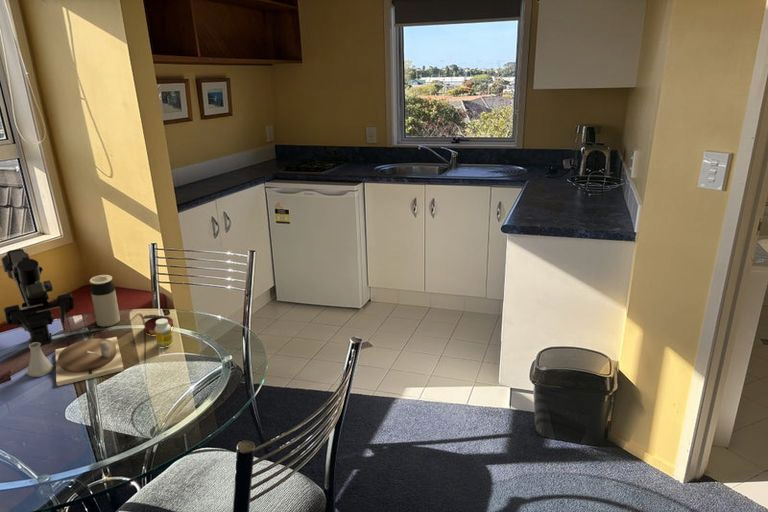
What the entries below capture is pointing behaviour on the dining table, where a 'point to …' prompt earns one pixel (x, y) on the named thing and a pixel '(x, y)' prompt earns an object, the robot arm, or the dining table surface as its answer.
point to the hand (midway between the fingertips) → (47, 327)
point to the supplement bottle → (163, 333)
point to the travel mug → (104, 300)
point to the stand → (71, 377)
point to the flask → (38, 362)
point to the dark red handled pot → (154, 323)
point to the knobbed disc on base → (87, 355)
